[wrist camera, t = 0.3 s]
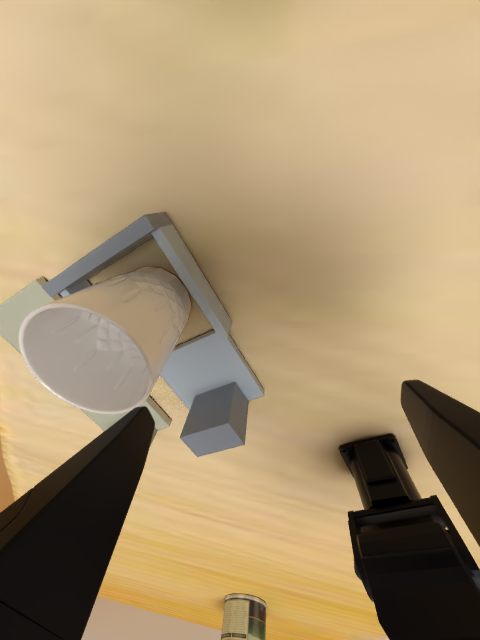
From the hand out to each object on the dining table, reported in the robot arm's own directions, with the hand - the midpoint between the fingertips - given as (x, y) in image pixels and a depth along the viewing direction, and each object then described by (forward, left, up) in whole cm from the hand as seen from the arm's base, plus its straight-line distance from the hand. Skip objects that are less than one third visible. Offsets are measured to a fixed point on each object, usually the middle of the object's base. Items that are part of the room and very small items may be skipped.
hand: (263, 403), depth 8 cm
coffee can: (-71, +40, -14) cm, 83 cm away
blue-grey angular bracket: (-1, +10, -14) cm, 17 cm away
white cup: (+3, +10, -14) cm, 18 cm away
